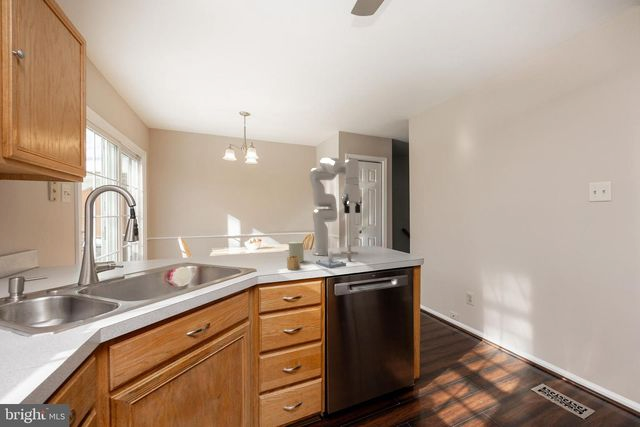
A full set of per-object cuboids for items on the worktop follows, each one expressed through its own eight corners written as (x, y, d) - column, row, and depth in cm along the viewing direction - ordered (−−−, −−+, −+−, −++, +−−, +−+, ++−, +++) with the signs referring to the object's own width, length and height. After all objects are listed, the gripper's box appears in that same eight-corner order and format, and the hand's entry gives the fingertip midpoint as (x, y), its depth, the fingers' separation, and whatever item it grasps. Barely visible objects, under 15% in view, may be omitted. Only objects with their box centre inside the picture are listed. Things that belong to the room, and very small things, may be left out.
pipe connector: (357, 263, 157) (357, 245, 157) (340, 262, 159) (339, 245, 159) (358, 259, 167) (358, 243, 167) (342, 259, 169) (342, 243, 169)
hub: (285, 267, 147) (285, 256, 147) (296, 266, 150) (296, 255, 150) (290, 270, 142) (290, 258, 142) (301, 268, 145) (301, 257, 145)
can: (292, 263, 160) (291, 242, 159) (286, 260, 168) (286, 241, 167) (306, 261, 164) (306, 241, 164) (300, 259, 172) (300, 240, 172)
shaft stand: (315, 263, 157) (315, 250, 157) (331, 261, 162) (331, 249, 162) (329, 268, 145) (328, 254, 145) (345, 265, 150) (345, 252, 150)
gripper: (355, 183, 159) (356, 212, 159) (336, 181, 147) (337, 213, 147) (366, 182, 154) (367, 212, 154) (347, 180, 141) (348, 213, 142)
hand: (352, 213), depth 150 cm, fingers open, 9 cm apart
